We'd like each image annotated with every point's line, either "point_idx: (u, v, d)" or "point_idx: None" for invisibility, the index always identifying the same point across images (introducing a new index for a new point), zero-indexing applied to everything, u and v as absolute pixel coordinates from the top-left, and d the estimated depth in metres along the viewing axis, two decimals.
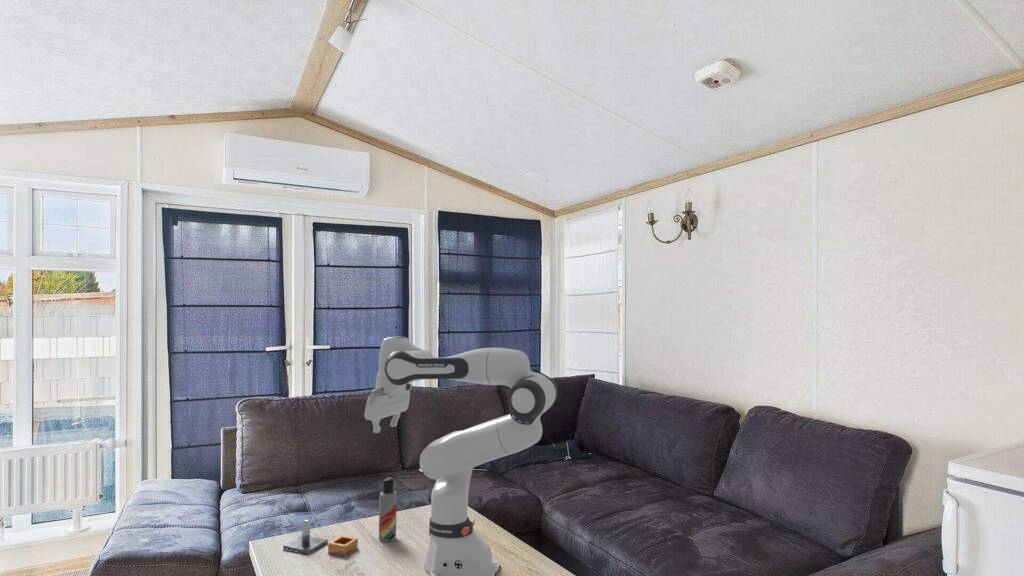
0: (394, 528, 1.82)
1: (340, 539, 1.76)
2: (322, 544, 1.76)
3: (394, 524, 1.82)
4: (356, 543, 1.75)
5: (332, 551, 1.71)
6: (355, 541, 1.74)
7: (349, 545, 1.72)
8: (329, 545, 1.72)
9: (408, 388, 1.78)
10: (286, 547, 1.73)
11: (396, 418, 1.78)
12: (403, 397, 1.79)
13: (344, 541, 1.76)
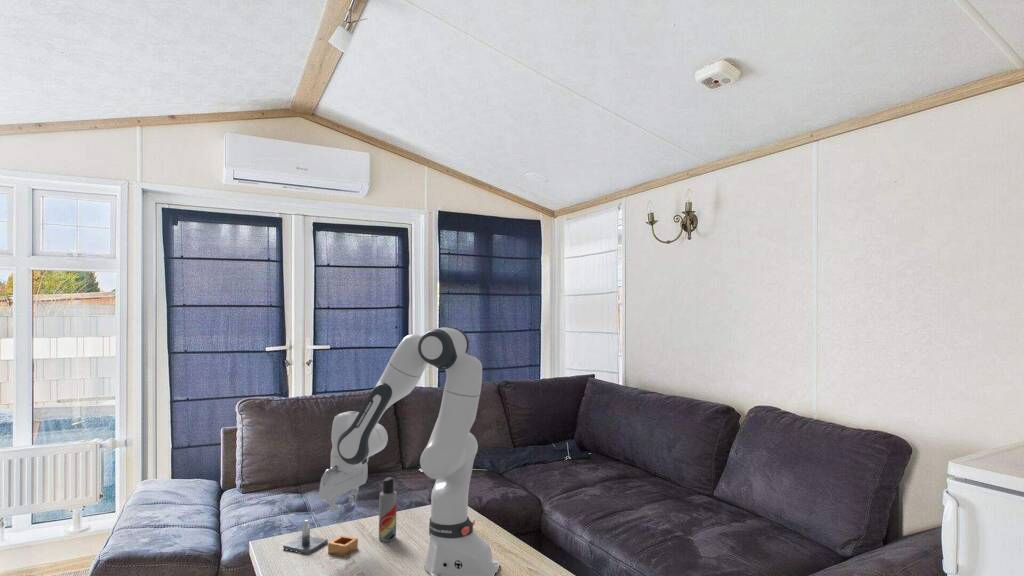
0: (394, 528, 1.82)
1: (340, 539, 1.76)
2: (322, 544, 1.76)
3: (394, 524, 1.82)
4: (356, 543, 1.75)
5: (332, 551, 1.71)
6: (355, 541, 1.74)
7: (349, 545, 1.72)
8: (329, 545, 1.72)
9: (364, 461, 1.79)
10: (286, 547, 1.73)
11: (355, 492, 1.79)
12: (360, 470, 1.80)
13: (344, 541, 1.76)
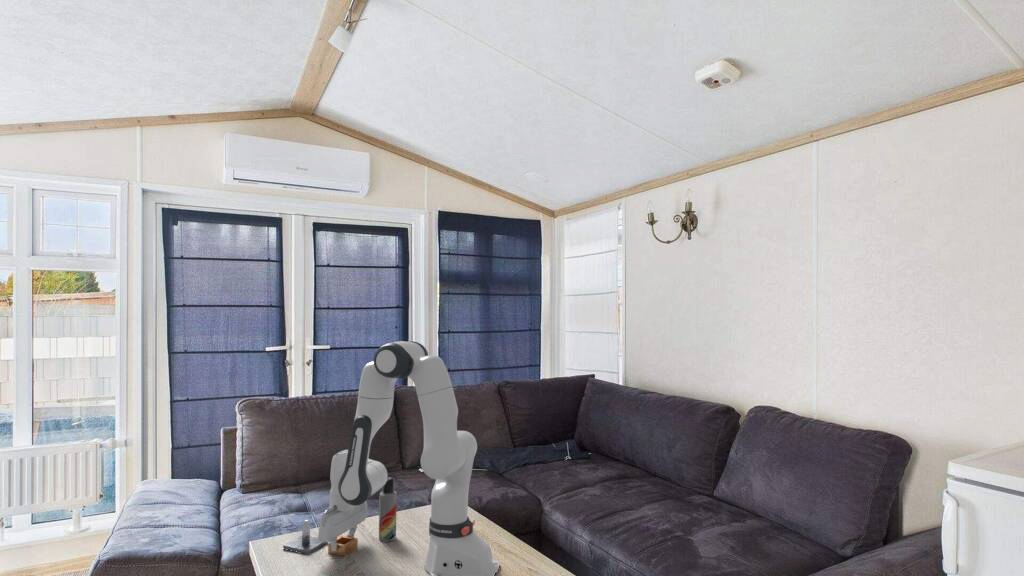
0: (394, 528, 1.82)
1: (340, 539, 1.76)
2: (322, 544, 1.76)
3: (394, 524, 1.82)
4: (356, 543, 1.75)
5: (332, 551, 1.71)
6: (355, 541, 1.74)
7: (349, 545, 1.72)
8: (329, 545, 1.72)
9: None
10: (286, 547, 1.73)
11: (353, 531, 1.78)
12: (360, 508, 1.80)
13: (344, 541, 1.76)
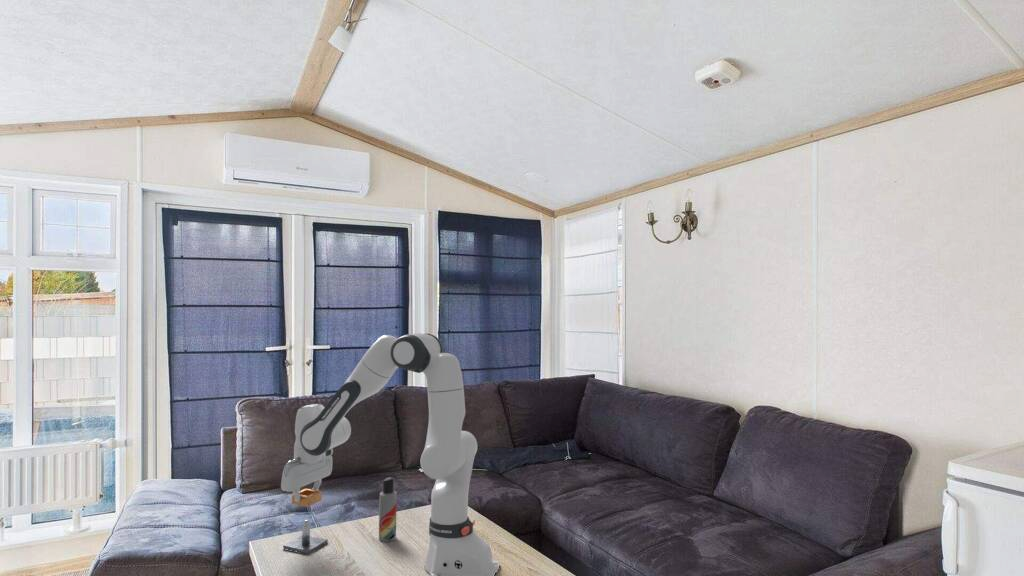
0: (394, 528, 1.82)
1: (304, 492, 1.79)
2: (322, 544, 1.76)
3: (394, 524, 1.82)
4: (320, 495, 1.78)
5: (295, 502, 1.74)
6: (319, 493, 1.78)
7: (312, 496, 1.75)
8: (293, 496, 1.75)
9: (328, 453, 1.82)
10: (286, 547, 1.73)
11: (317, 485, 1.81)
12: (325, 462, 1.83)
13: (308, 494, 1.79)
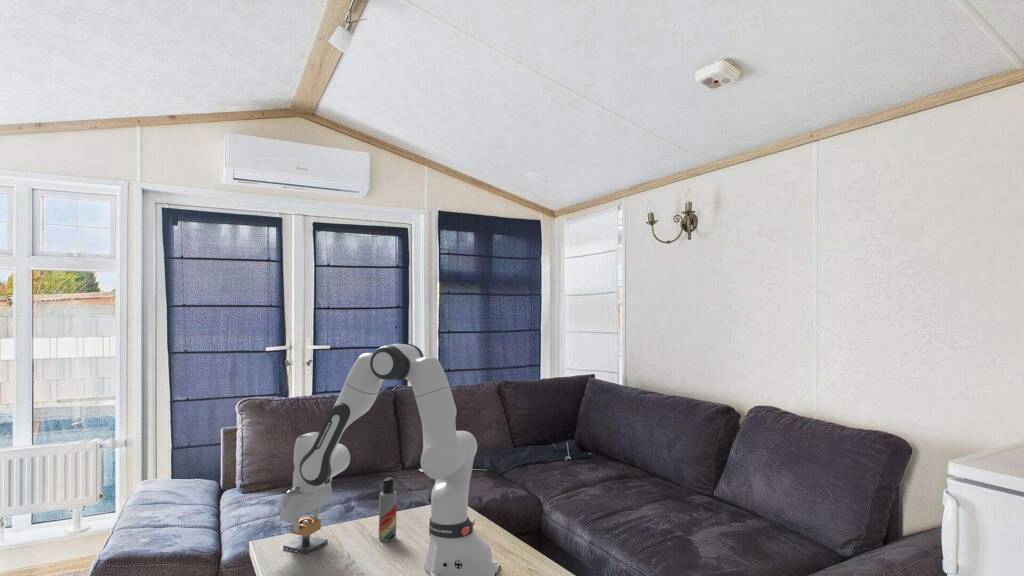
0: (394, 528, 1.82)
1: (303, 520, 1.79)
2: (322, 544, 1.76)
3: (394, 524, 1.82)
4: (319, 524, 1.78)
5: (295, 531, 1.74)
6: (318, 522, 1.77)
7: (311, 526, 1.74)
8: (292, 526, 1.74)
9: (327, 481, 1.82)
10: (286, 547, 1.73)
11: (316, 513, 1.80)
12: (324, 490, 1.82)
13: None
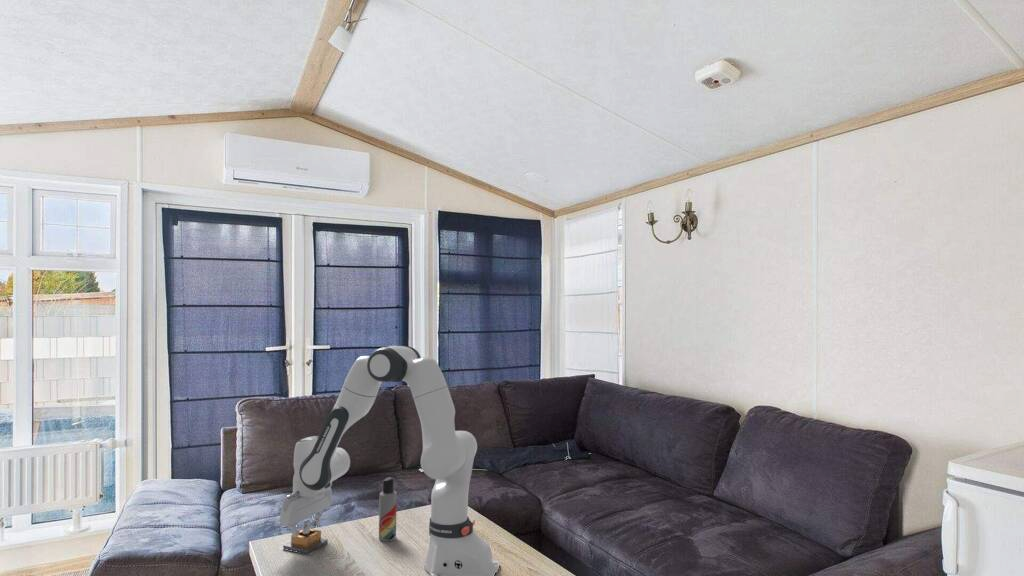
0: (394, 528, 1.82)
1: None
2: (322, 544, 1.76)
3: (394, 524, 1.82)
4: (319, 535, 1.78)
5: (295, 543, 1.74)
6: (318, 533, 1.77)
7: (312, 537, 1.74)
8: (292, 537, 1.74)
9: (328, 485, 1.81)
10: (286, 547, 1.73)
11: (318, 516, 1.81)
12: (324, 494, 1.82)
13: None
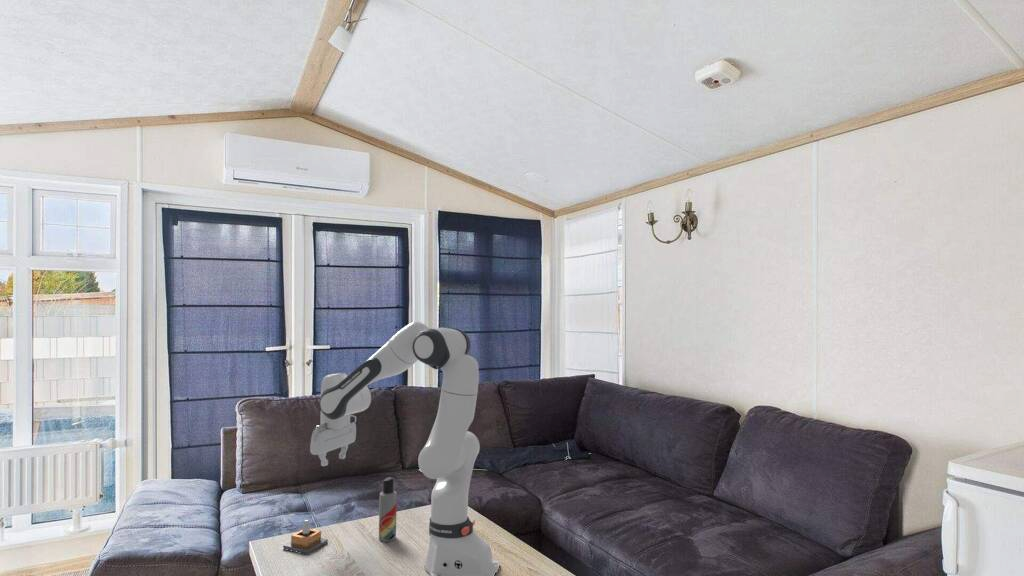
0: (394, 528, 1.82)
1: None
2: (322, 544, 1.76)
3: (394, 524, 1.82)
4: (319, 535, 1.78)
5: (295, 543, 1.74)
6: (318, 533, 1.77)
7: (312, 537, 1.74)
8: (292, 537, 1.74)
9: (353, 421, 1.90)
10: (286, 547, 1.73)
11: (344, 450, 1.90)
12: (349, 430, 1.91)
13: None
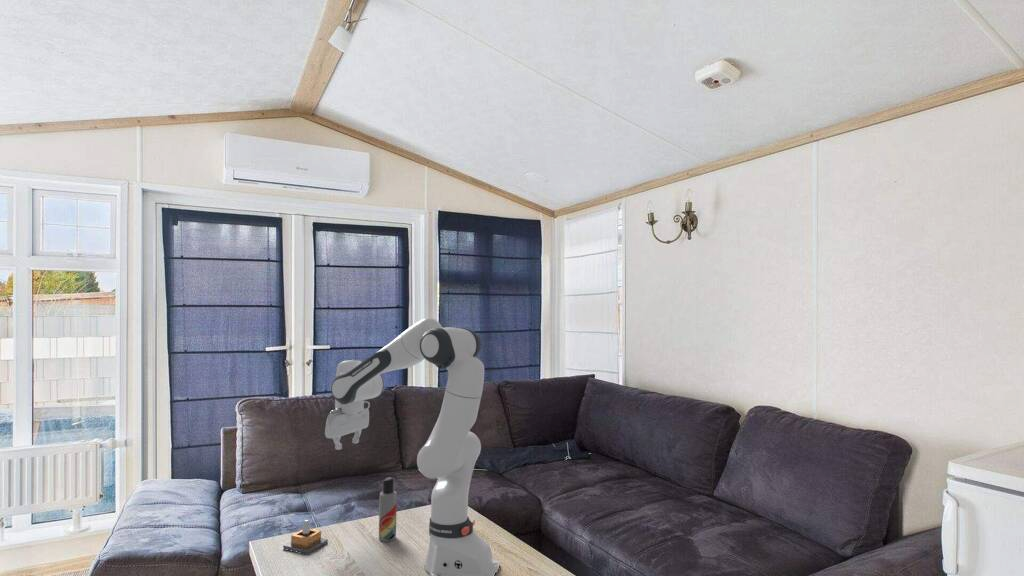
0: (394, 528, 1.82)
1: None
2: (322, 544, 1.76)
3: (394, 524, 1.82)
4: (319, 535, 1.78)
5: (295, 543, 1.74)
6: (318, 533, 1.77)
7: (312, 537, 1.74)
8: (292, 537, 1.74)
9: (366, 406, 1.95)
10: (286, 547, 1.73)
11: (357, 435, 1.95)
12: (362, 415, 1.96)
13: None
